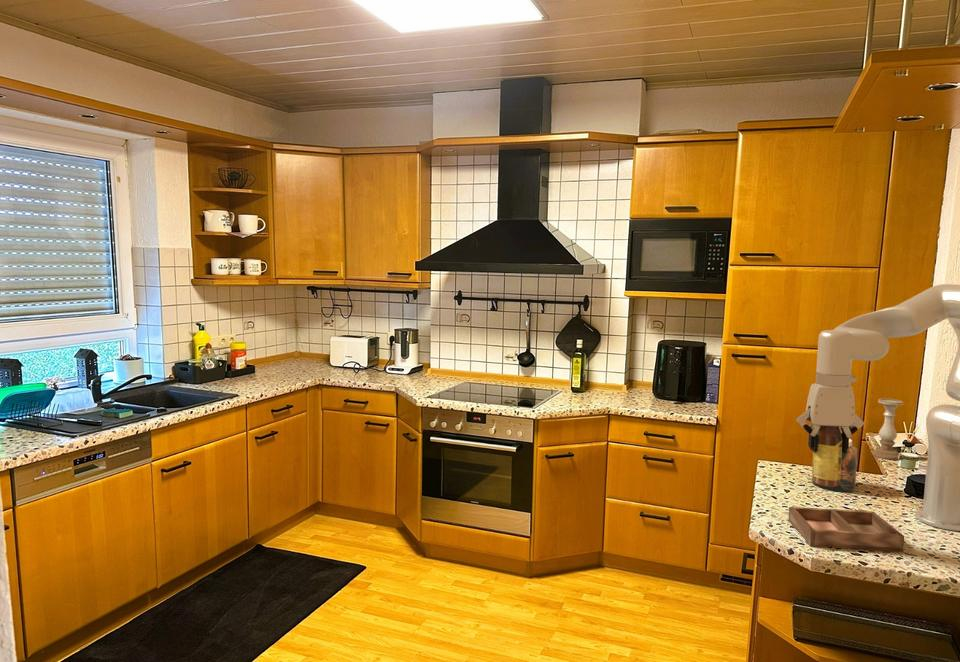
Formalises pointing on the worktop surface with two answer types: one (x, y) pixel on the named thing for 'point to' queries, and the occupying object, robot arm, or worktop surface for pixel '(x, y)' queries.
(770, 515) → the worktop surface
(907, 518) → the worktop surface
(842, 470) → the jar
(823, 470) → the sauce bottle
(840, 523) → the caddy
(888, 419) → the candle holder
